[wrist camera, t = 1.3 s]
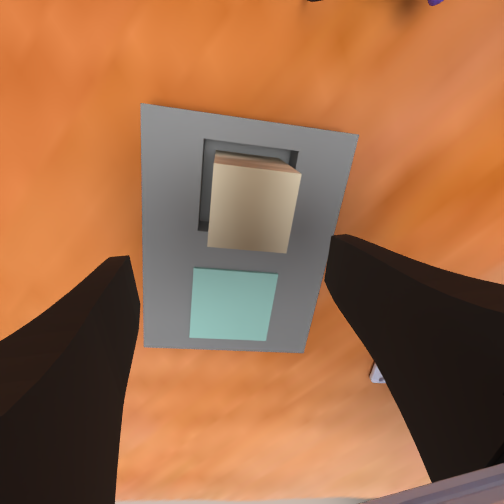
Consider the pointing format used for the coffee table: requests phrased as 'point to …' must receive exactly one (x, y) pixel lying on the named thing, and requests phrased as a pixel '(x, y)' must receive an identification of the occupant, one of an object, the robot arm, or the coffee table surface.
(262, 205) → the birch block
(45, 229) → the coffee table surface
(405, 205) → the coffee table surface
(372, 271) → the robot arm
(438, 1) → the game controller
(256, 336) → the pocket board
